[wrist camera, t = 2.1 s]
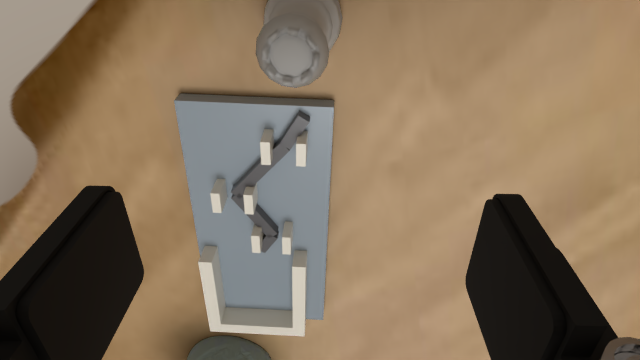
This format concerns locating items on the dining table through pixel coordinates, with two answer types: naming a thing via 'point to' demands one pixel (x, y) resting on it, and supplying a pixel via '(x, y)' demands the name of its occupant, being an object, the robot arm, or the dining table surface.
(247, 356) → the teal cup
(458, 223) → the dining table surface
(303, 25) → the rook chess piece
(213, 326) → the board
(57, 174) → the dining table surface
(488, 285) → the robot arm
